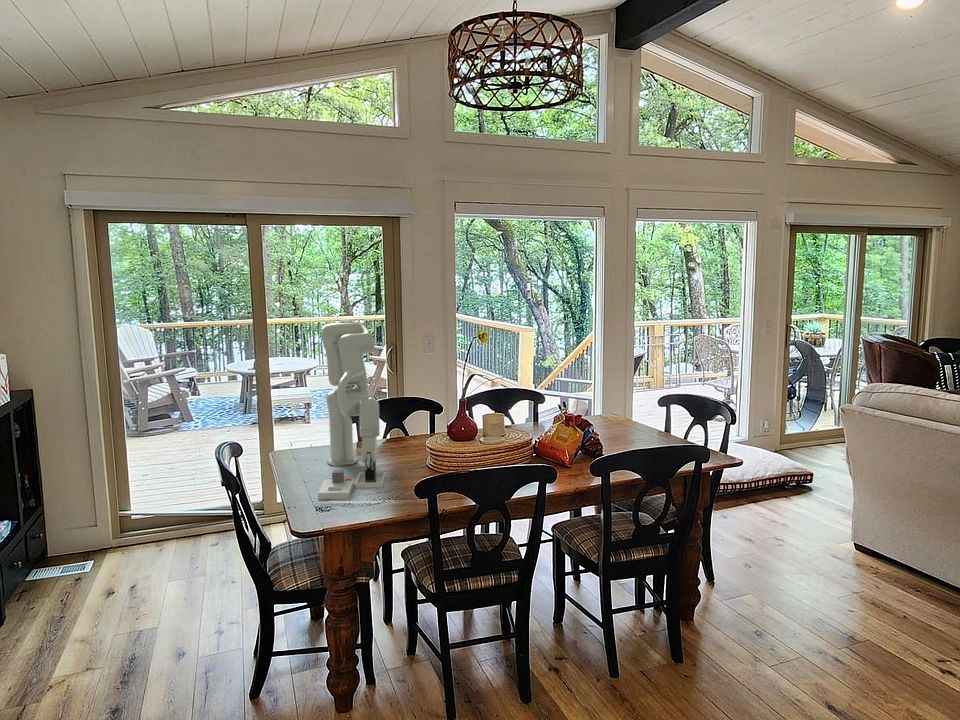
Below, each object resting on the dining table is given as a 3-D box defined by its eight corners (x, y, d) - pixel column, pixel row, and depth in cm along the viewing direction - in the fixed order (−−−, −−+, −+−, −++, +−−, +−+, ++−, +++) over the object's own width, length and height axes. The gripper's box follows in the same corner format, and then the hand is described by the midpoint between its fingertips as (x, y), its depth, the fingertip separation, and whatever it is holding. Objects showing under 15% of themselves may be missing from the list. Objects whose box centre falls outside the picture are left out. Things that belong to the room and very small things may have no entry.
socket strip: (325, 486, 253) (324, 469, 252) (354, 486, 254) (353, 468, 253) (318, 501, 238) (317, 482, 237) (349, 500, 239) (348, 481, 238)
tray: (359, 478, 264) (359, 472, 263) (385, 477, 264) (385, 471, 264) (355, 489, 251) (355, 483, 250) (382, 489, 251) (382, 482, 251)
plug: (365, 480, 259) (365, 458, 257) (376, 480, 259) (375, 457, 258) (365, 482, 256) (364, 460, 254) (375, 482, 256) (375, 460, 255)
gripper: (362, 426, 263) (363, 469, 265) (357, 437, 245) (358, 484, 248) (381, 425, 263) (382, 469, 266) (377, 437, 246) (378, 483, 249)
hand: (370, 476), depth 257 cm, fingers open, 6 cm apart
